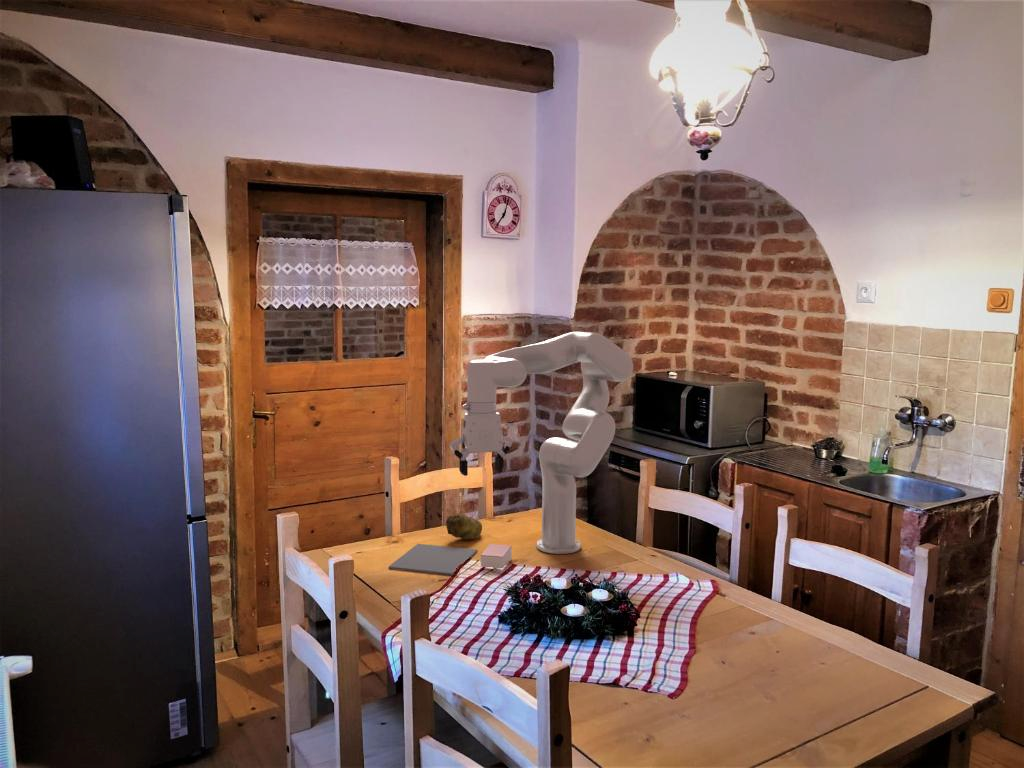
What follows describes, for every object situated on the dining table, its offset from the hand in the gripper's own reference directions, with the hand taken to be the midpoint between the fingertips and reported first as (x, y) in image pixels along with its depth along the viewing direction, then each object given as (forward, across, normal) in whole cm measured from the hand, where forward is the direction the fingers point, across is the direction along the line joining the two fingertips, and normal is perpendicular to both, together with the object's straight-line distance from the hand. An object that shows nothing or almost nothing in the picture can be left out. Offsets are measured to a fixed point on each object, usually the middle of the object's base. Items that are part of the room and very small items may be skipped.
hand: (481, 473), depth 214 cm
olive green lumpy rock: (+26, +5, +25) cm, 36 cm away
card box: (+26, +5, +2) cm, 26 cm away
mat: (+26, -9, +11) cm, 29 cm away
